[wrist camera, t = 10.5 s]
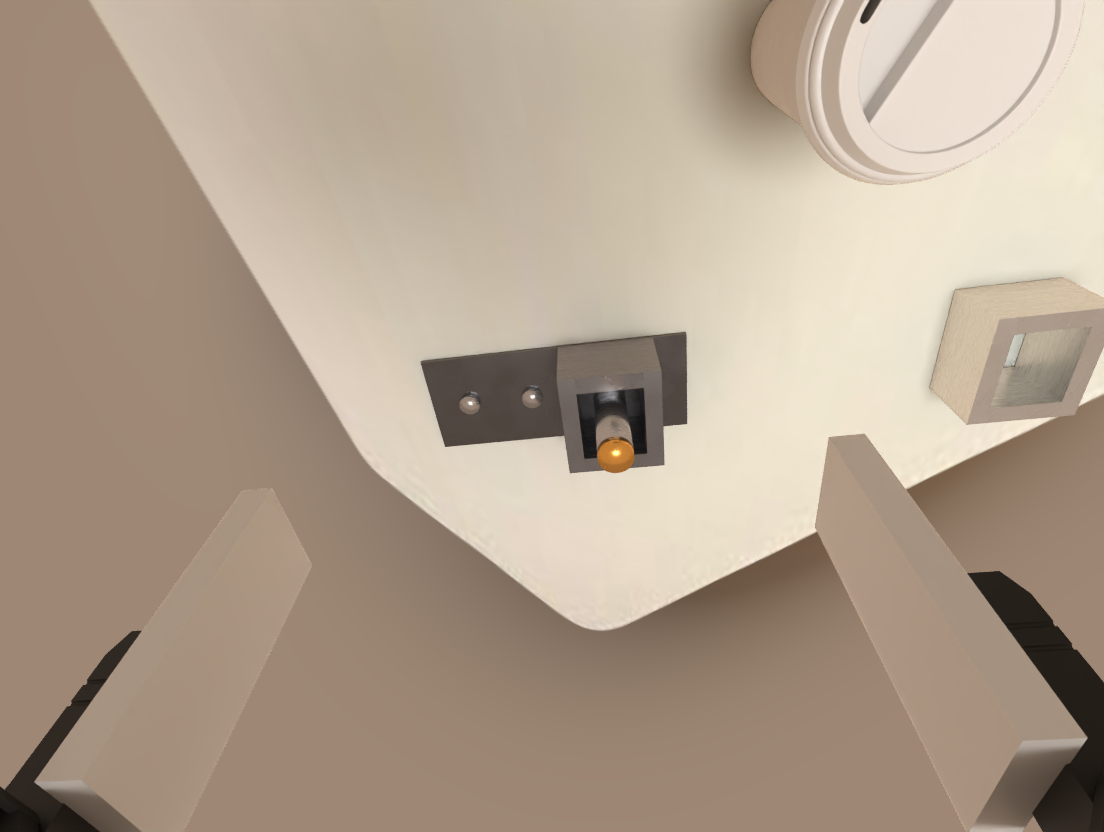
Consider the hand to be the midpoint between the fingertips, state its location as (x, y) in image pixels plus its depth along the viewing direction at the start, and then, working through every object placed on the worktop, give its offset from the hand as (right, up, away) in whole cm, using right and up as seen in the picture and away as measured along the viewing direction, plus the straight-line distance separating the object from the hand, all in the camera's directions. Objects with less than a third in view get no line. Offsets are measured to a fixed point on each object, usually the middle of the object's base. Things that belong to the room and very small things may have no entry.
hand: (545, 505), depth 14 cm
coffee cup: (+15, +23, +19) cm, 33 cm away
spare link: (+32, +8, +28) cm, 44 cm away
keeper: (+1, +4, +32) cm, 32 cm away
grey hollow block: (+5, +4, +31) cm, 32 cm away
